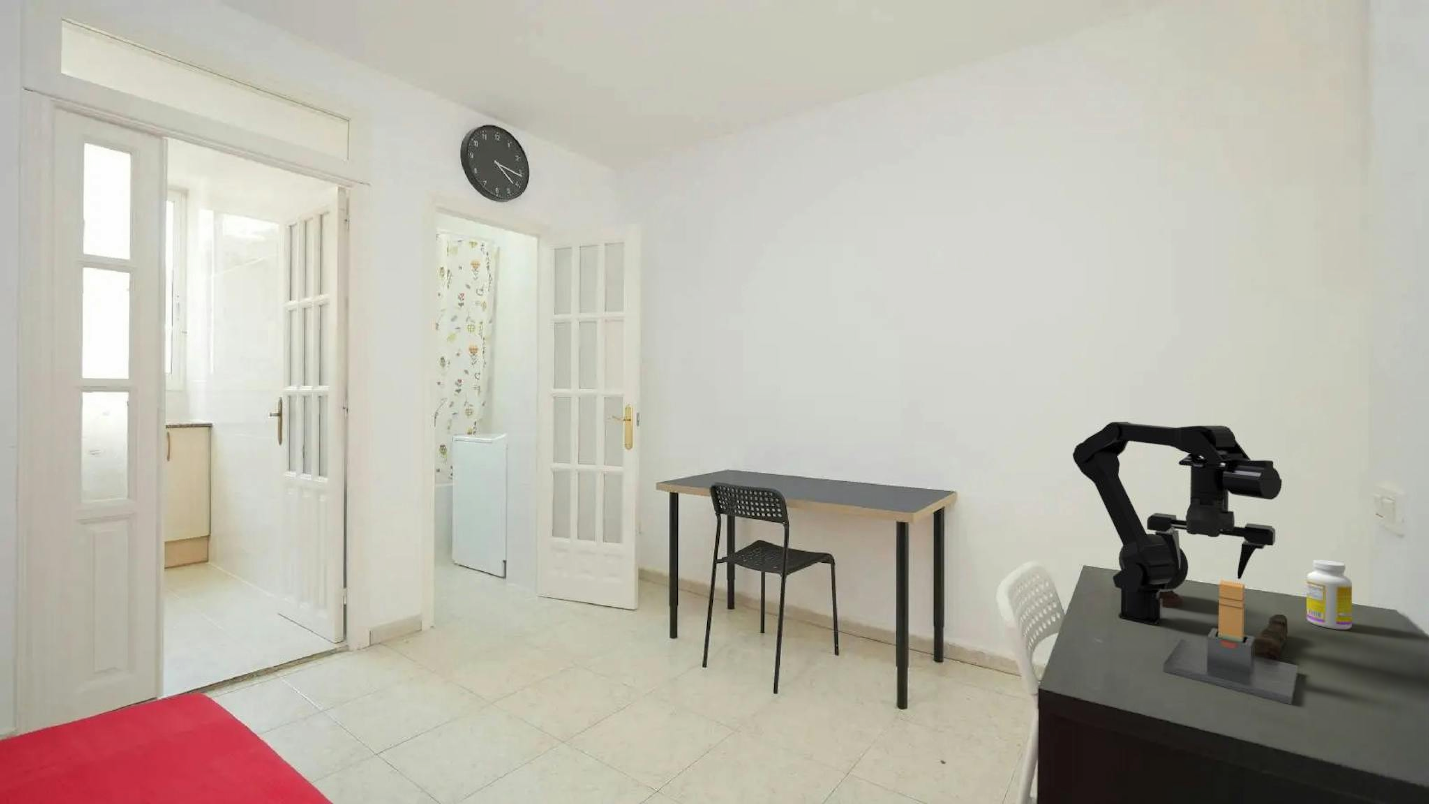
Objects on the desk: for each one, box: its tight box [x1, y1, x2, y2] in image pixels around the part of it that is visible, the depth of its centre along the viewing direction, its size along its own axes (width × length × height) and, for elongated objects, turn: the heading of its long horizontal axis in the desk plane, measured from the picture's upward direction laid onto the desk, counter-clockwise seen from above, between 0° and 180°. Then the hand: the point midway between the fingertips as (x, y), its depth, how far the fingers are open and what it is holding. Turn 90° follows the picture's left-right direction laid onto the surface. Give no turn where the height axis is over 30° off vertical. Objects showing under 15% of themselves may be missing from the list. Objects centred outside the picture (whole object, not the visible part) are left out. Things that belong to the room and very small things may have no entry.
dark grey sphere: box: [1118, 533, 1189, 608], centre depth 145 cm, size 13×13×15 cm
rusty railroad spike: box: [1254, 613, 1289, 661], centre depth 117 cm, size 19×4×5 cm, turn 128°
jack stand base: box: [1162, 627, 1299, 705], centre depth 107 cm, size 16×16×6 cm
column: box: [1218, 579, 1246, 643], centre depth 106 cm, size 3×3×10 cm
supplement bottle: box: [1306, 559, 1353, 631], centre depth 130 cm, size 7×7×13 cm
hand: (1207, 573), depth 120 cm, fingers open, 9 cm apart
